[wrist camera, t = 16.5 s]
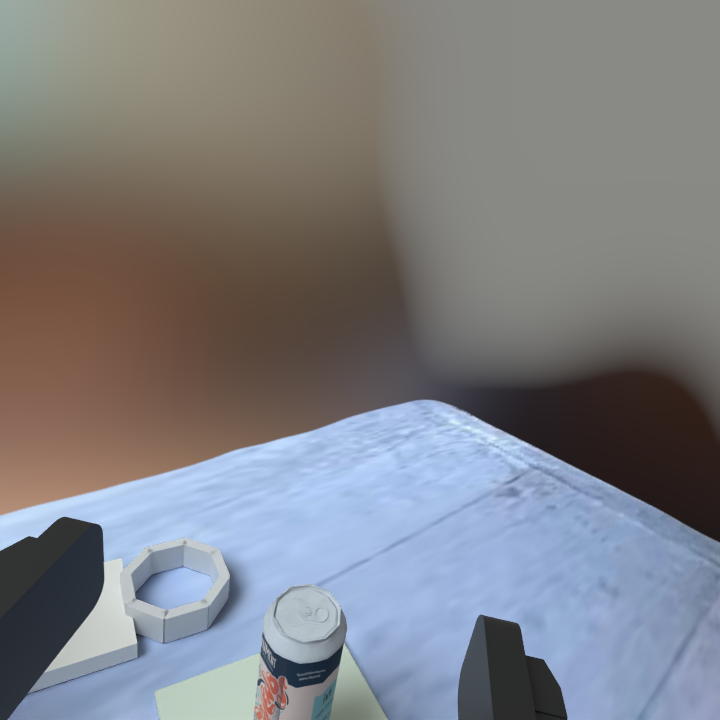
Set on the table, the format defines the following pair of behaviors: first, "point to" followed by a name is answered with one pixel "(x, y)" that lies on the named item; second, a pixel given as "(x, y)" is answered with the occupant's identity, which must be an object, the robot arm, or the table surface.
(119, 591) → the charging dock
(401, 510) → the table surface
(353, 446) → the table surface
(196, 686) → the sage mat
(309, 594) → the beer can
